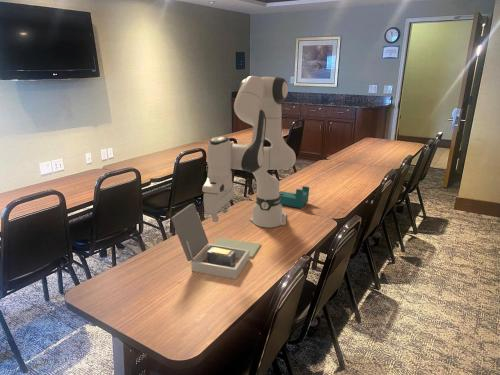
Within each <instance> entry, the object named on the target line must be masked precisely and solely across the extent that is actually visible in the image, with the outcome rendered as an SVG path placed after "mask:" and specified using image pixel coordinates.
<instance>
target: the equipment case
mask: <svg viewBox="0 0 500 375" xmlns="http://www.w3.org/2000/svg"><path fill="white" fill-rule="evenodd" d="M186 244H187V247H188V250H189V253H190V257H191V262H190V263H191V265H190V266H191V272H195V273H200V274H206V275H211V276H217V277H221V278H226V279H233V280H237V278H238V277H239V275H240V273H241V272H242V271H243V269H244V268H245V266H246V265H247V263H248V262H249V260H250V258H249V250H245V249H239V248H233V247H226V246H220V245H214V244H213V243H208V244H207V245H206V246H205V247H204V248H203V249H202V250H201V251H200V252H199V253H198V254H197V255H196V256H195V257H194V258H193V256H192V253H191V249H190V246H189V243H188V241H186ZM212 247H216V248H221V249H226V250H231V251H235V259H239V260H238V262H237V263H236V264H235V266H234V267H233V268H232V267H226V266H220V265H215V264H209V263H208V262H204V261H205V260H206V259H207V252H208V251H209V250H210V249H211V248H212Z"/></svg>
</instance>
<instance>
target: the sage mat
mask: <svg viewBox="0 0 500 375" xmlns="http://www.w3.org/2000/svg"><path fill="white" fill-rule="evenodd" d="M212 244H214V245H220V246H226V247H233V248H239V249H245V250H249V259H254V256H255V255H256V253H258V250H259V249H260V247H261V246H262V244H261V243H257V242H250V241H246V240H245V241H244V240H237V239H231V238H223V237H217V239H215V241H214V242H213V243H212Z"/></svg>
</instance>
